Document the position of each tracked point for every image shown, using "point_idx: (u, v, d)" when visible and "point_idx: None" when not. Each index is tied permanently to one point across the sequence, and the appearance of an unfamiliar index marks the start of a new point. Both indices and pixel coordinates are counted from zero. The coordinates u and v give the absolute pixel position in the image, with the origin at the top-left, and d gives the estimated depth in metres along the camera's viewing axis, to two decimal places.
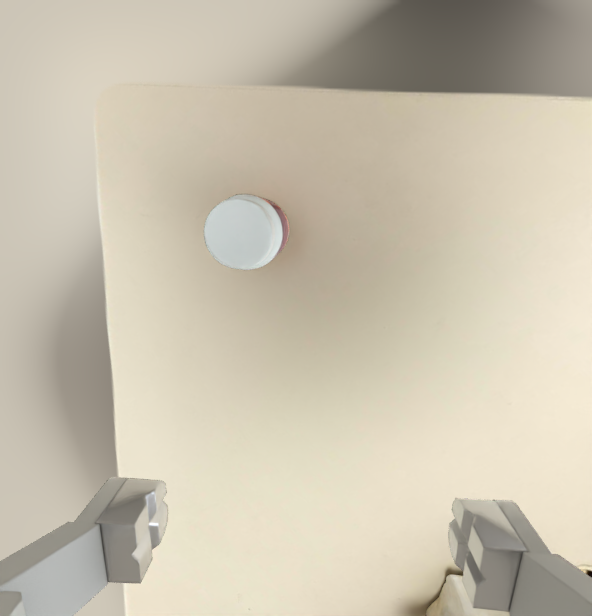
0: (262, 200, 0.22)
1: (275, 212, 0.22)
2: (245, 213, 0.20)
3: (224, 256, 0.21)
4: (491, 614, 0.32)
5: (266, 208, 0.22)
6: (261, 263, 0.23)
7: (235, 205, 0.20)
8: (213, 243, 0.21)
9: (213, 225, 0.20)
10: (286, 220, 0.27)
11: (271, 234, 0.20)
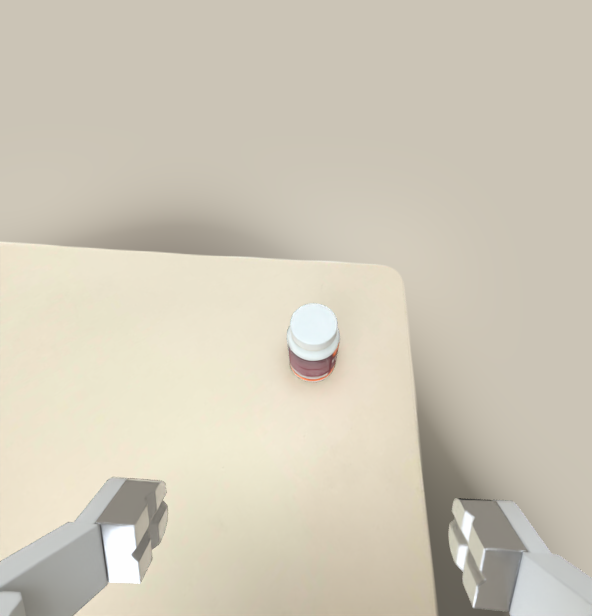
0: (336, 346, 0.31)
1: (327, 355, 0.31)
2: (328, 328, 0.30)
3: (299, 314, 0.30)
4: None
5: (330, 348, 0.31)
6: (291, 343, 0.31)
7: (333, 322, 0.30)
8: (307, 308, 0.31)
9: (319, 308, 0.31)
10: (320, 376, 0.35)
11: (314, 344, 0.29)
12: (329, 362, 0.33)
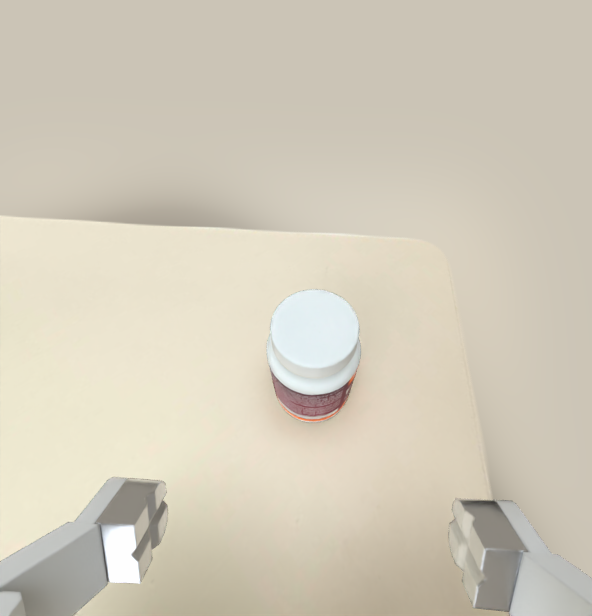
0: (354, 368, 0.17)
1: (340, 385, 0.17)
2: (341, 335, 0.16)
3: (287, 309, 0.16)
4: None
5: (345, 372, 0.17)
6: (274, 363, 0.17)
7: (350, 324, 0.16)
8: (303, 298, 0.17)
9: (325, 299, 0.17)
10: (324, 415, 0.21)
11: (314, 367, 0.15)
12: (341, 394, 0.18)
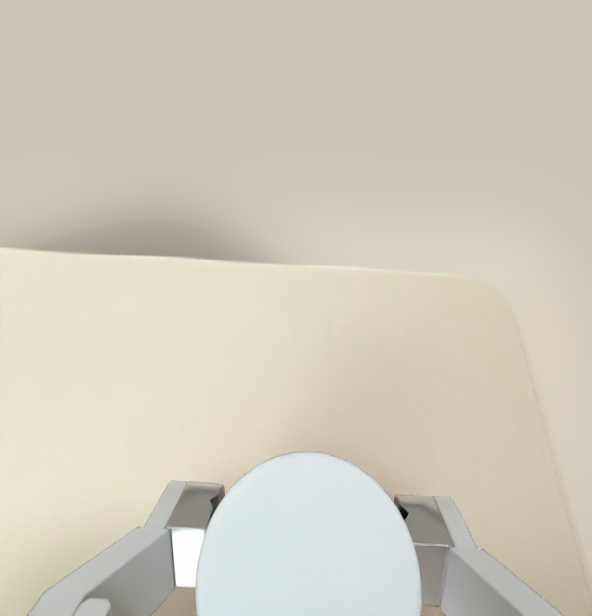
0: None
1: None
2: (377, 610, 0.06)
3: (241, 514, 0.07)
4: None
5: None
6: None
7: (399, 570, 0.06)
8: (282, 480, 0.07)
9: (334, 484, 0.07)
10: None
11: None
12: None
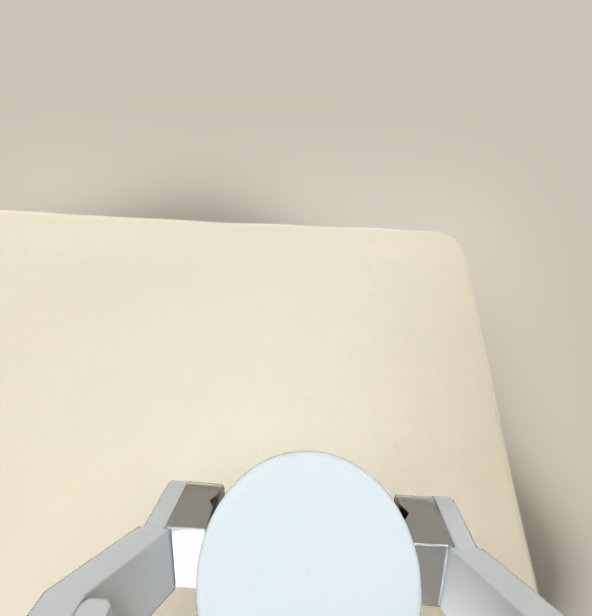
0: None
1: None
2: (377, 608, 0.06)
3: (241, 513, 0.07)
4: None
5: None
6: None
7: (399, 569, 0.06)
8: (282, 479, 0.07)
9: (334, 482, 0.07)
10: None
11: None
12: None
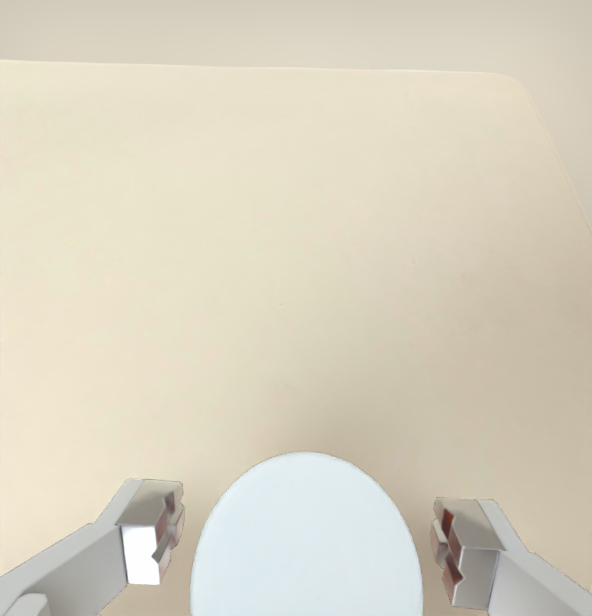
0: None
1: None
2: (377, 615, 0.06)
3: (237, 516, 0.07)
4: None
5: None
6: None
7: (400, 574, 0.06)
8: (280, 480, 0.07)
9: (333, 485, 0.07)
10: None
11: None
12: None
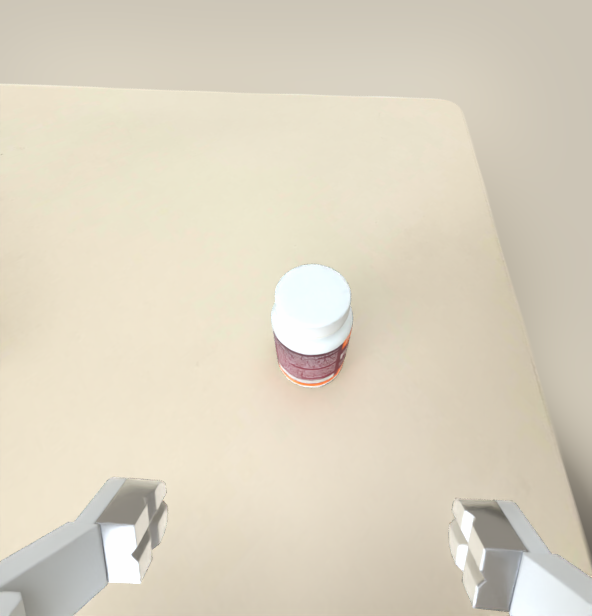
0: (347, 332, 0.20)
1: (334, 346, 0.19)
2: (335, 301, 0.18)
3: (289, 280, 0.19)
4: None
5: (339, 335, 0.19)
6: (278, 328, 0.20)
7: (343, 292, 0.19)
8: (303, 271, 0.19)
9: (322, 272, 0.19)
10: (321, 379, 0.23)
11: (313, 327, 0.18)
12: (336, 358, 0.21)
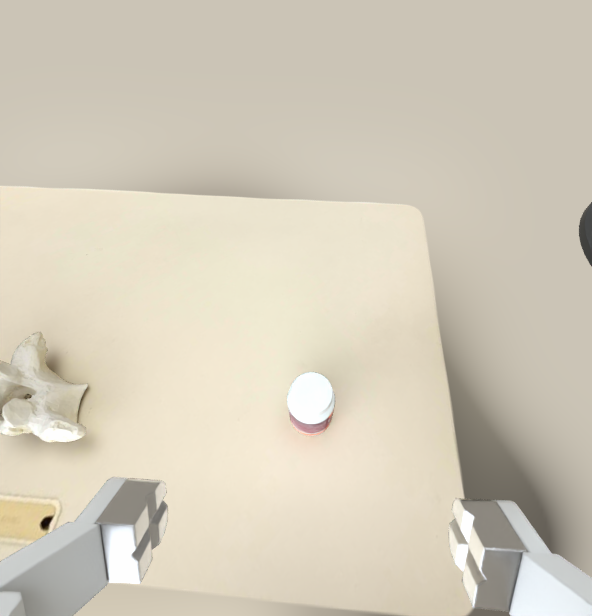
0: (331, 411, 0.34)
1: (324, 419, 0.34)
2: (324, 397, 0.33)
3: (298, 383, 0.34)
4: (55, 402, 0.38)
5: (326, 413, 0.34)
6: (291, 408, 0.34)
7: (328, 391, 0.33)
8: (306, 377, 0.34)
9: (317, 377, 0.34)
10: (317, 432, 0.38)
11: (311, 413, 0.32)
12: (325, 422, 0.36)
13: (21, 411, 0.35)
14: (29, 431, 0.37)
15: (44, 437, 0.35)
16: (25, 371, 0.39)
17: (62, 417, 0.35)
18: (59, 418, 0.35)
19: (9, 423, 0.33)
